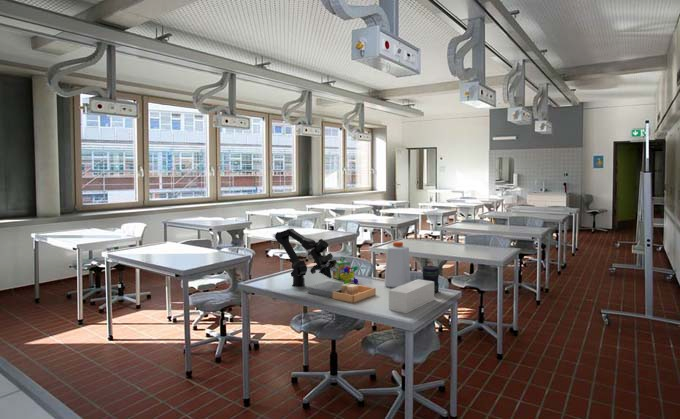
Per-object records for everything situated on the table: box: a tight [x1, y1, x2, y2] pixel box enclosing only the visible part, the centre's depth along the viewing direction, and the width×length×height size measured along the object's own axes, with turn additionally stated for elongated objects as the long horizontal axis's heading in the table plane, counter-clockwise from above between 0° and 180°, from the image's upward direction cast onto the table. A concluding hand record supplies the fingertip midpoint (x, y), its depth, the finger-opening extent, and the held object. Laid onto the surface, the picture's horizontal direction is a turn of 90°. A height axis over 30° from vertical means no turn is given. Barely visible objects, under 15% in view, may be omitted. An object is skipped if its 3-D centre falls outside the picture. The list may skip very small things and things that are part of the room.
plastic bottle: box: [384, 241, 412, 289], centre depth 298 cm, size 15×15×28 cm
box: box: [332, 284, 377, 304], centre depth 273 cm, size 15×22×4 cm
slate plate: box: [307, 280, 344, 299], centre depth 284 cm, size 20×20×4 cm
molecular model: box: [340, 265, 359, 284], centre depth 304 cm, size 12×7×12 cm, turn 130°
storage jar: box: [422, 265, 440, 295], centre depth 284 cm, size 10×10×15 cm
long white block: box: [388, 278, 435, 314], centre depth 256 cm, size 32×11×11 cm, turn 142°
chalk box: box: [332, 256, 351, 281], centre depth 320 cm, size 9×9×15 cm
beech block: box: [341, 282, 359, 295], centre depth 275 cm, size 6×6×8 cm
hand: (330, 277), depth 283 cm, fingers closed
